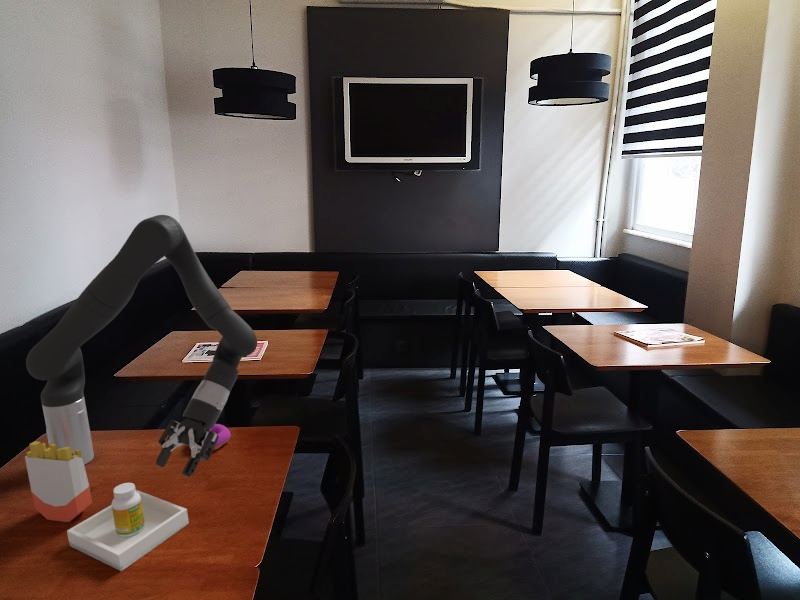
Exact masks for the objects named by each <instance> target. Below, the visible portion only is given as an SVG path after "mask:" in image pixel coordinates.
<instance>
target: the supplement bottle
mask: <svg viewBox="0 0 800 600" xmlns="http://www.w3.org/2000/svg"><path fill="white" fill-rule="evenodd" d="M136 490H137V489H136V485H135V484H134V483H132V482H125V483H121V484H118V485H117V486H115V487H114V488H113V491H112V492H113V497H114V498H113V499H112V501H111V505H112V510H113V516H114V522H115V528H116V533H117V535H119V536H121V537H129V536H133V535H135V534H137V533H139V532H140V531H141V530H142V529H143V528H144V525H145V523H144V516H143V509H142V503H141V497H140V494H139V493H137V492H136Z"/></svg>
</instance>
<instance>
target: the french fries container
mask: <svg viewBox="0 0 800 600" xmlns="http://www.w3.org/2000/svg"><path fill="white" fill-rule="evenodd" d="M46 446H47V447H46ZM29 449H30V450H29V451H27V452H26V455H25V456H24V459H25V460H24V461H25V464H26V471H27V474H28V475H27V476H28V481H29V486H30V490H31V496H32V501H33V505H34V506H33V507H34V509H35V510H36V511H37V512H38V513H39V514H41V515H42V516H43V517H44V519H46V520H48V521H54V522H64V523H70V522H71V521H72V520H74V519H75V518H76V517H78V516H79V515H80V514H81V513H83V512H84V510H86V509H87V508H88V507H89V506H90V505H91V504H92V503H93V499H92V494H91V493H92V492H91V488H90V483H89V479H88V475H87V472H86V467H85V465H84V463H83V459H82V451H81V450H76V451H75V455H74V452H72V451H71V447H65V448H60V449H58V450H57V445H56V444H53V443H51V444H49V443H48V445H47V444H46V442H41V441H36V440H35V441H33V442H30V443H29Z"/></svg>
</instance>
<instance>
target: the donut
mask: <svg viewBox="0 0 800 600" xmlns="http://www.w3.org/2000/svg"><path fill="white" fill-rule="evenodd" d="M210 431H212V432H214V433H216V434H218V435H219V438H218V440H217V443H216V445H215V447H214V449H213V451H216V450H218V449H220V448H221V447H222V446H223V445H225V444H227V443H228V442H229V441H230V438H231V436H232V434H231V432H230V430H229V429H228V428H227V427H226V426H225V425H222V424H220V423H215V425H214V427H213V428H210ZM210 431H209V432H210ZM204 441H205V440H203V444H204ZM207 450H208V448H207ZM207 450H206V452H207Z"/></svg>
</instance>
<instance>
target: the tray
mask: <svg viewBox="0 0 800 600" xmlns="http://www.w3.org/2000/svg"><path fill="white" fill-rule="evenodd" d="M136 492H137V493H139V494H140V497H141V503H142V509H143V516H144V523H145V525H144V528H143V529H142V530H141V531H140V532H139V533H137V534H135V535H133V536H129V537H121V536H119V535H117V533H116V528H115V522H114V516H113V510H112V504H110V505H109V506H107V507H105V508H103V509H101V510H100V511H98V512H97V513H95V514H93V515H92V516H90V517H88V518H87V519H85V520H82V522H79V523H77V524H76V525H75V526H73V527H71V528H69V529H67V530H66V532H67V539H68V543H69V545H68V546H69V547H71V548H73V549H75V550H77V551H79V552H81V553H83V554H85V555H87V556H89V557H91V558H93V559H95V560H97V561H100V562H101V563H104V564H106V565H107V566H110V567H112V568H114V569H116V570H118V571H120V572H123V571H124V570H125V569H127V568H128V567H129V566H131V565H133V564H134V563H135V562H136V561H138V560H139V559H141V558H142V557H144V556H145V555H146V554H148V553H149V552H151V551H153V549H155V548H157V547H158V546H160V545H161V544H162V543H163V542H165V541H166V540H168V539H169V538H170V537H172V536H173V535H176V533H178V532H179V531H181V530H182V529H183V528H185V527H186V526H187V525H189V516H188V515H189V514H188V509H187V508H186V507H183V506H179V505H177V504H175V503H172V502H169V501H167V500H164V499H161V498H159V497H156V496H153V495H151V494H148V493H145V492H143V491H141V490H138V489H136Z"/></svg>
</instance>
